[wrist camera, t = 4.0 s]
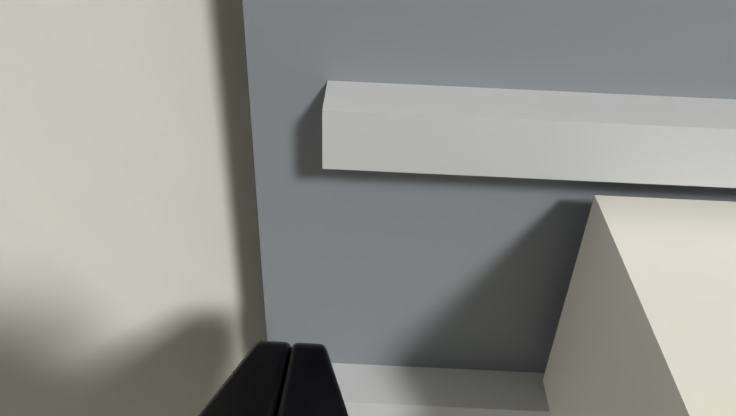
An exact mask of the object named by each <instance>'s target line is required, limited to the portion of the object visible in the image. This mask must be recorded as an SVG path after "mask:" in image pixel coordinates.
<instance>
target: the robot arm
mask: <svg viewBox="0 0 736 416" xmlns="http://www.w3.org/2000/svg"><path fill="white" fill-rule="evenodd" d="M198 416H348V413H347V409H346V406H345V403H344V400H343V397H342V394H341V391H340V388H339V385H338V382H337V379H336V376H335V373H334V370H333V366H332V363H331V360H330V357H329V354H328V351H327V349H326V347H325V346H324V345H323V344H315V343H295V344H293V346H292V347H291V345H290V344H289V343H287V342H278V341H260V342H258V343H256V344H255V345H254V346H253V347H252V349H251V350H250V351H249V352H248V354H247V355H246V356H245V357H244V359H243V360H242V361H241V363H240V364H239V365H238V366H237V368H236V369H235V370H234V371H233V373H232V374H231V375H230V376H229V378H228V379H227V380H226V381H225V383H224V384H223V385H222V386H221V388H220V389H219V390H218V391H217V393H216V394H215V395H214V396H213V398H212V399H211V400H210V401H209V403H208V404H207V405H206V406H205V408H204V409H203V410H202V412H201V413H200V414H199V415H198Z"/></svg>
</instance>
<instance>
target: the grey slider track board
mask: <svg viewBox="0 0 736 416" xmlns="http://www.w3.org/2000/svg"><path fill="white" fill-rule="evenodd" d="M242 3H243V17H244V31H245V45H246V58H247V72H248V86H249V100H250V114H251V128H252V141H253V155H254V169H255V183H256V197H257V210H258V224H259V238H260V252H261V266H262V279H263V293H264V307H265V321H266V335H267V341H278V342H287V343H289V344H290V345H291V347H292V346H293V344H295V343H315V344H323V345H324V346H325V347H326V349H327V351H328V354H329V357H330V360H331V363H332V366H333V370H334V373H335V376H336V379H337V382H338V385H339V388H340V391H341V394H342V397H343V400H344V403H345V406H346V409H347V413H348V416H551V414H550V410H549V406H548V401H547V397H546V392H545V388H544V384H543V377H544V373H545V370H546V366H547V363H548V359H549V356H550V352H551V349H552V345H553V341H554V338H555V334H556V331H557V327H558V324H559V320H560V317H561V313H562V310H563V306H564V302H565V299H566V295H567V292H568V288H569V285H570V281H571V278H572V274H573V270H574V267H575V263H576V260H577V256H578V253H579V249H580V246H581V242H582V238H583V235H584V231H585V228H586V224H587V221H588V217H589V214H590V210H591V206H592V203H593V199H594V196H595V195H602V196H624V197H645V198H666V199H688V200H709V201H731V202H736V0H242Z"/></svg>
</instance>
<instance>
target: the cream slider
mask: <svg viewBox="0 0 736 416" xmlns="http://www.w3.org/2000/svg"><path fill="white" fill-rule="evenodd" d="M543 384H544V388H545V392H546V397H547V401H548V406H549V410H550V414H551V416H736V202H731V201H709V200H688V199H666V198H645V197H624V196H602V195H595V196H594V199H593V203H592V206H591V210H590V214H589V217H588V221H587V224H586V228H585V231H584V235H583V238H582V242H581V246H580V249H579V253H578V256H577V260H576V263H575V267H574V270H573V274H572V278H571V281H570V285H569V288H568V292H567V295H566V299H565V302H564V306H563V310H562V313H561V317H560V320H559V324H558V327H557V331H556V334H555V338H554V341H553V345H552V349H551V352H550V356H549V359H548V363H547V366H546V370H545V373H544V377H543Z"/></svg>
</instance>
